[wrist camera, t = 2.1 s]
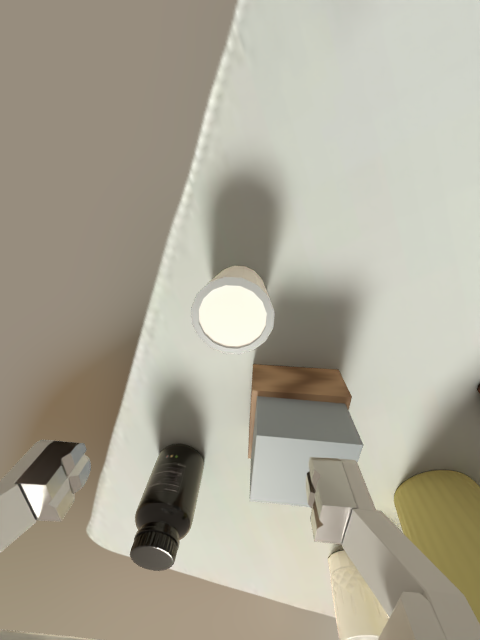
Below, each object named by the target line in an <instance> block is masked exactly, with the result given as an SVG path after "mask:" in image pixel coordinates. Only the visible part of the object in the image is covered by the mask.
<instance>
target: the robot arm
mask: <svg viewBox="0 0 480 640" xmlns="http://www.w3.org/2000/svg"><path fill="white" fill-rule="evenodd" d="M85 452H86V447H85V445H84V444H83V443H74V442H63V441H51V440H40V441H39V442H37V443H35V444H34V445H33V446H32V447H31V449H30V450H29V451H28V452H27V453H26V454H25V455H24V456H23V457H22V458H21V459H20V460H19V461H18V462H17V463H16V464H15V466H13V468H12V469H11V470H10V471H9V472H8V473H7V474H6V475H5V476H4V477H3V478H2V479H1V480H0V552H2V551H3V550H4V549H5V548H6V547H7V546H9V545H10V544H11V543H12V542H13V541H14V540H16V539H17V538H18V537H19V536H20V535H21V534H23V533H24V532H25V531H26V530H27V529H29V528H30V527H31V526H32V525H33V524H34V523H36V520H41V521H62V520H63V518H64V516H65V515H66V513H67V512H68V510H69V508H70V507H71V505H72V503H73V502H74V493H76V492H77V491H78V490H80V489H81V488H82V487H83V486H84V484H85V482H86V481H87V479H88V476H89V473H90V470H91V463H90V459H89V458H88V457H87V456H86V455H84V453H85ZM308 465H309V472H308V473H307V475H306V495H307V502H308V505H309V506H310V507H311V508H312V512H311V517H310V519H311V525H312V531H313V536H314V541H315V542H324V543H333V544H342V548H343V549H344V550H345V552H346V553H347V555H348V556H349V558H350V559H351V561H352V562H353V564H354V565H355V567H356V568H357V570H358V571H359V573H360V574H361V576H362V577H363V579H364V580H365V582H366V583H367V585H368V586H369V588H370V589H371V591H372V592H373V594H374V595H375V597H376V598H377V600H378V601H379V603H380V604H381V606H382V607H383V609H384V610H385V611H386V613H387V614H388V616H389V619H388V621H387V623H386V625H385V627H384V629H383V631H382V633H381V634H380V636H379V638H378V640H480V624H479V622H478V620H477V618H476V616H475V614H474V612H473V611H472V609H471V607H470V605H469V603H468V601H467V599H466V597H465V596H464V595H463V594H462V593H461V592H460V590H459V589H458V588H457V587H456V586H455V585H454V584H453V583H452V582H451V581H450V580H449V579H448V578H447V577H446V576H445V575H444V574H443V573H442V572H441V571H440V570H439V569H438V568H437V567H436V566H435V565H434V564H433V563H432V562H431V561H430V560H429V559H428V558H427V557H426V556H425V555H424V554H423V553H422V552H421V551H420V550H419V549H418V548H417V547H416V546H415V545H414V544H413V543H412V542H411V541H410V540H409V539H408V538H407V537H406V536H405V535H404V534H403V533H402V532H401V531H400V530H399V529H398V528H397V527H396V526H395V525H394V524H393V523H392V521H391V520H390V519H389V518H388V517H387V516H386V515H385V514H384V513H383V512H382V511H379V510H376V509H375V506H374V504H373V501H372V499H371V496H370V494H369V491H368V489H367V486H366V484H365V481H364V479H363V476H362V474H361V471H360V469H359V466H358V464H357V462H356V461H355V460H349V459H338V458H318V457H310V459H309V463H308ZM0 640H99V639H87V638H79V637H69V636H59V635H49V634H39V633H29V632H19V631H10V630H0Z"/></svg>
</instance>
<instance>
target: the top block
mask: <svg viewBox="0 0 480 640" xmlns="http://www.w3.org/2000/svg"><path fill="white" fill-rule="evenodd" d="M362 448H363V443H362V441H361V439H360V436H359V434H358V432H357V429H356V427H355V425H354V422H353V420H352V418H351V416H350V413H349V411H348V409H347V406H346V404H344V403H332V402H320V401H309V400H297V399H285V398H274V397H262V396H257V402H256V412H255V422H254V432H253V442H252V452H251V474H250V501H254V502H264V503H274V504H284V505H294V506H304V507H310V506H309V505H308V502H307V495H306V475H307V473H308V472H309V465H308V463H309V459H310V457H318V458H338V459H349V460H355V461H356V462H358V459H359V456H360V453H361V450H362Z"/></svg>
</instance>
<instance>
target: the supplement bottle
mask: <svg viewBox="0 0 480 640" xmlns="http://www.w3.org/2000/svg"><path fill="white" fill-rule="evenodd" d="M203 468H204V461H203V458H202V456H201V455H200V453H199V452H198V451H197V450H195V449H194V448H192V447H190V446H187V445H183V444H174V445H170V446H168V447H166V448H164V449H163V450H162V451H161V452H160V454H159V456H158V458H157V461H156V463H155V466H154V468H153V471H152V473H151V476H150V478H149V481H148V483H147V486H146V488H145V491H144V493H143V496H142V498H141V501H140V503H139V506H138V508H137V511H136V514H135V522H136V526H137V529H138V531H137V533H136V535H135V538H134V543H133V546H132V548H131V552H130V557H131V559H132V560H133V561H134V563H136V564H137V565H139V566H140V567H142V568H145V569H149V570H154V571H160V570H166V569H168V568H170V567H172V565H173V564H174V561H175V558H176V553H177V550H178V547H179V540H181V539H182V538H184V537H185V536H186V535H187V533H188V532H189V530H190V528H191V525H192V521H193V517H194V512H195V507H196V502H197V497H198V493H199V488H200V483H201V478H202V473H203Z"/></svg>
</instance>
